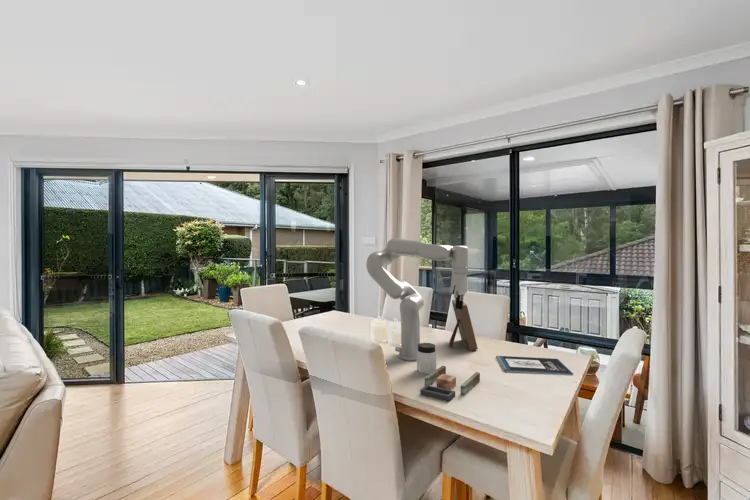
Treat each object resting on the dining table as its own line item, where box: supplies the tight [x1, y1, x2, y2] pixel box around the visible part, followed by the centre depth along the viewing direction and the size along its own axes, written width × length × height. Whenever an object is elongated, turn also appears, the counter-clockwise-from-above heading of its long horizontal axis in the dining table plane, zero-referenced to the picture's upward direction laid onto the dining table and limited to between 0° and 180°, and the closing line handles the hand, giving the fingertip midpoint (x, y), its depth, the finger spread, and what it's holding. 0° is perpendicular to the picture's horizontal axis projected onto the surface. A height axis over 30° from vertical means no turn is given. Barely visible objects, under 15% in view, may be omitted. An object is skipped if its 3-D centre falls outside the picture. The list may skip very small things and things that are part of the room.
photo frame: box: [448, 299, 478, 352], centre depth 220 cm, size 15×22×25 cm
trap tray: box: [419, 385, 456, 403], centre depth 150 cm, size 12×6×2 cm, turn 56°
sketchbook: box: [495, 355, 574, 376], centre depth 185 cm, size 22×30×2 cm
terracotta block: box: [436, 374, 457, 391], centre depth 159 cm, size 6×6×4 cm
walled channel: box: [424, 365, 481, 396], centre depth 163 cm, size 17×18×4 cm
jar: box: [416, 342, 437, 375], centre depth 178 cm, size 9×8×12 cm
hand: (459, 308), depth 189 cm, fingers closed
